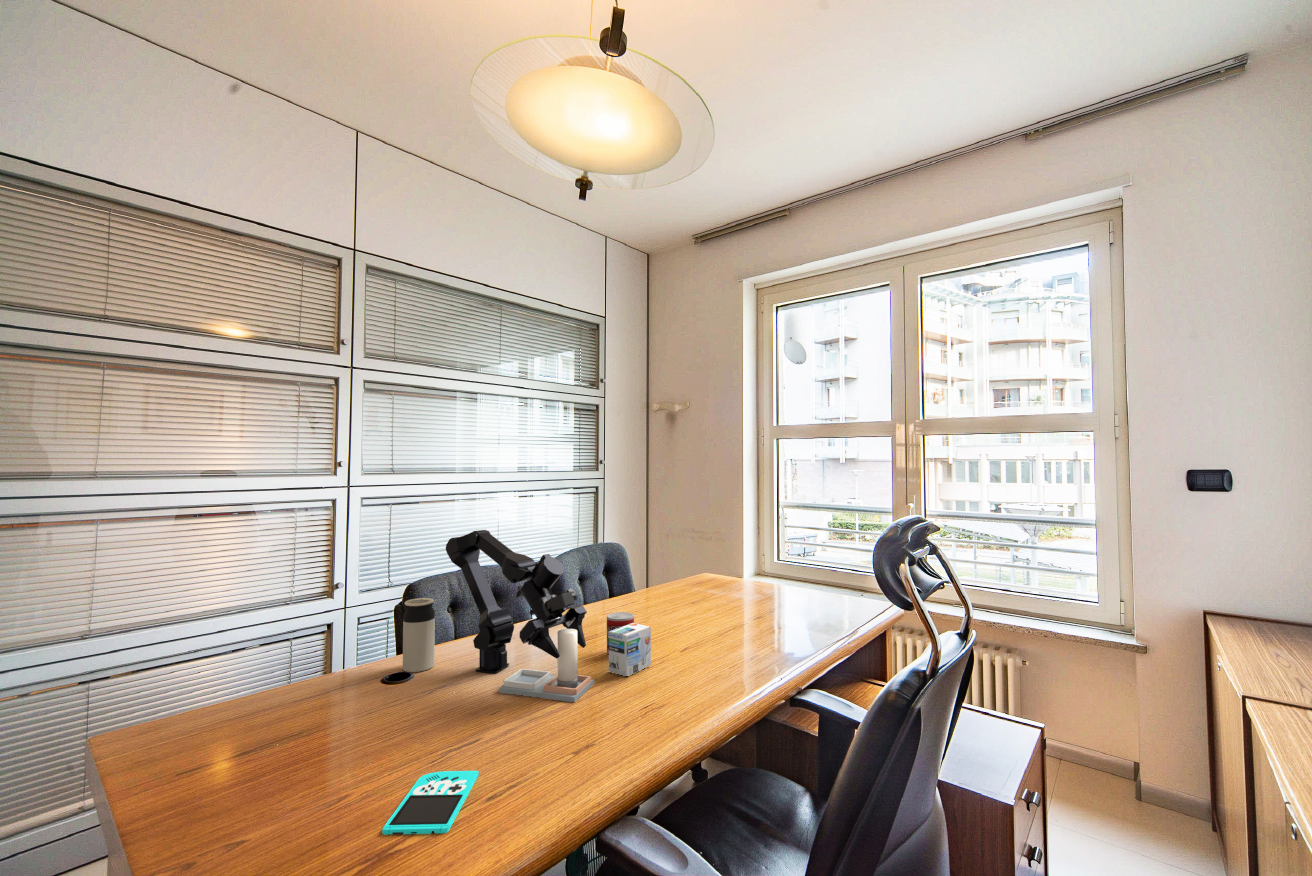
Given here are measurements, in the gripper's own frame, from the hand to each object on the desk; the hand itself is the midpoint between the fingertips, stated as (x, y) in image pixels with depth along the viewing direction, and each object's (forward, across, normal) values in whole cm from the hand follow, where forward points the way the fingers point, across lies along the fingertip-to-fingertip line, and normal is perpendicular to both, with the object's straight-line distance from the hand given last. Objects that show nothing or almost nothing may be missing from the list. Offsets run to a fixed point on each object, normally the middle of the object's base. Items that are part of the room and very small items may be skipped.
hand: (571, 651), depth 135 cm
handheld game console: (+16, -45, -1) cm, 48 cm away
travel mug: (-26, -11, +40) cm, 49 cm away
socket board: (+2, -2, +12) cm, 12 cm away
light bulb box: (+9, +20, +5) cm, 22 cm away
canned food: (+2, +28, +12) cm, 31 cm away
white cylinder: (+5, 0, +7) cm, 8 cm away
